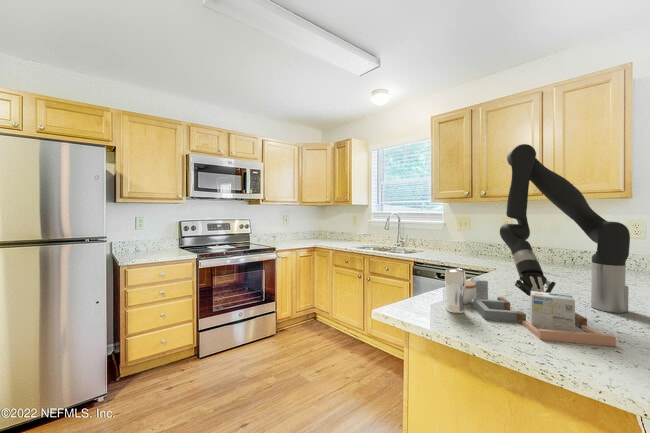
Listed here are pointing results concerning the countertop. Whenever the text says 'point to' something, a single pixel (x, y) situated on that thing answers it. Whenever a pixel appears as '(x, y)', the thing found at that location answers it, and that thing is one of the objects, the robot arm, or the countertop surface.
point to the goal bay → (573, 335)
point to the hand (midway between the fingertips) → (543, 306)
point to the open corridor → (522, 316)
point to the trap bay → (494, 310)
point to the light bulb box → (552, 311)
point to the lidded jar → (469, 292)
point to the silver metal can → (455, 289)
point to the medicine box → (480, 288)
